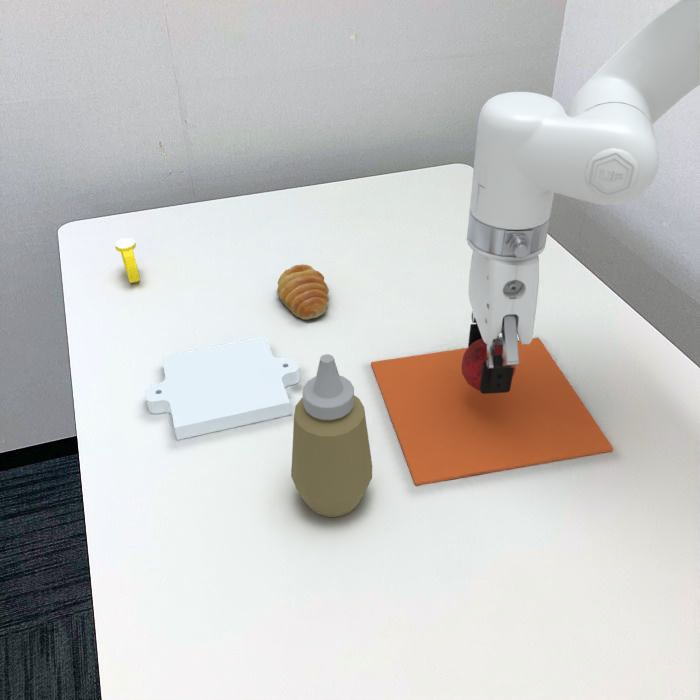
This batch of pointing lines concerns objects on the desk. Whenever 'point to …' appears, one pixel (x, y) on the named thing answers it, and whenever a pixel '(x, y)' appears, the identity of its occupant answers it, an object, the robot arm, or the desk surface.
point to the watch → (128, 258)
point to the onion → (477, 362)
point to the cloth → (484, 416)
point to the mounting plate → (223, 387)
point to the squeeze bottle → (330, 443)
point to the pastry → (303, 291)
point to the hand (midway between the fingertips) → (488, 370)
